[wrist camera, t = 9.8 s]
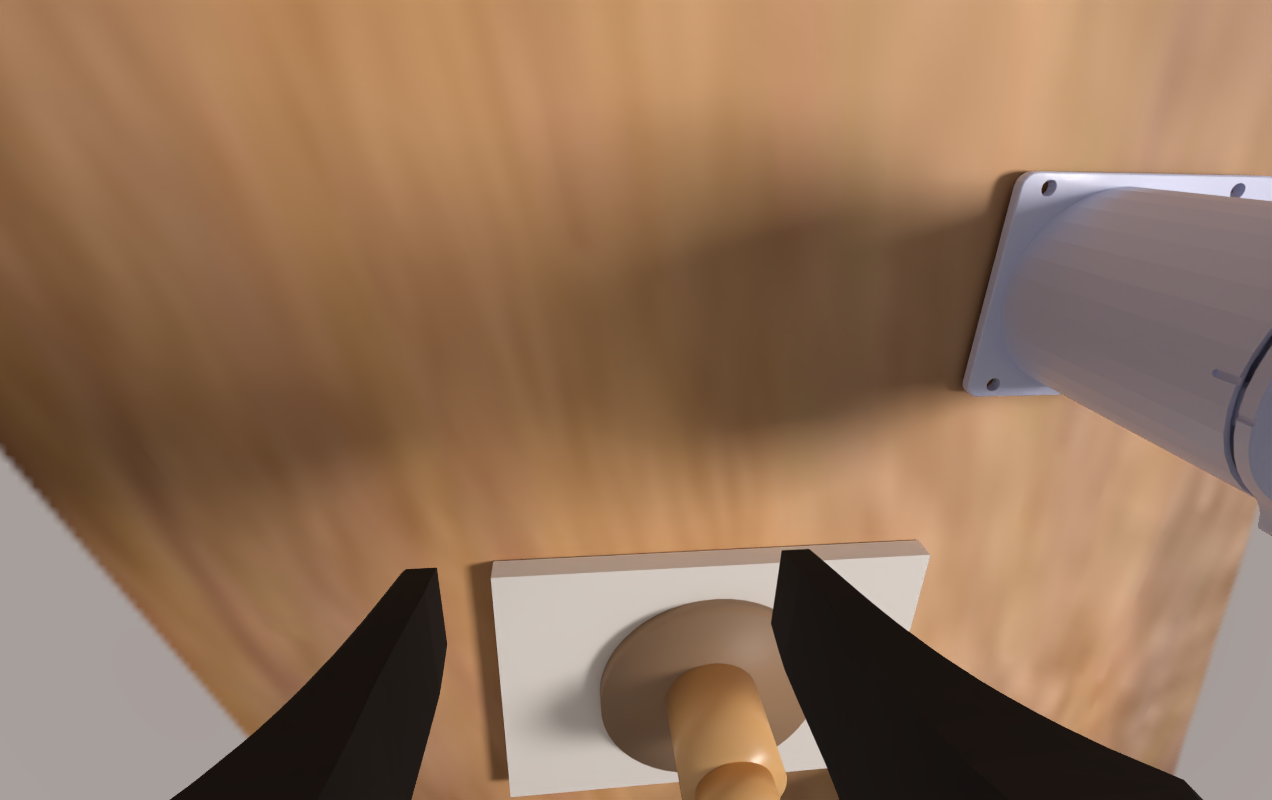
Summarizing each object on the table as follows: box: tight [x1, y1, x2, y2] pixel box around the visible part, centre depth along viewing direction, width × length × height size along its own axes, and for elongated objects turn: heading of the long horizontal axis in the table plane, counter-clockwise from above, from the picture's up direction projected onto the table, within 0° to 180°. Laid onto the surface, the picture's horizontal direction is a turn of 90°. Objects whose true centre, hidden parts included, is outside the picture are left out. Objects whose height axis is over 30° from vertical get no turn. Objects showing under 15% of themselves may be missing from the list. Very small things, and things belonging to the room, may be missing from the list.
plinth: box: [491, 540, 930, 797], centre depth 27 cm, size 18×13×2 cm
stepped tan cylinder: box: [666, 663, 787, 800], centre depth 24 cm, size 4×4×6 cm
